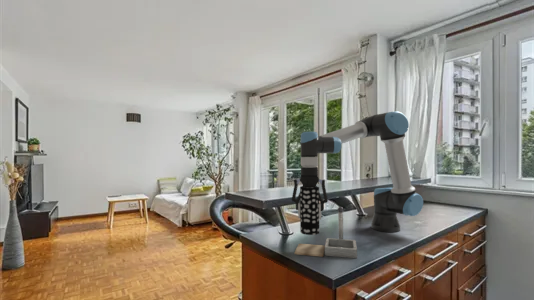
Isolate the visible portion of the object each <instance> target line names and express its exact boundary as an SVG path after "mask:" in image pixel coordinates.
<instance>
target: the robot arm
mask: <svg viewBox="0 0 534 300" xmlns="http://www.w3.org/2000/svg"><path fill="white" fill-rule="evenodd" d="M409 125H410V124H409V120H408V118H407V116H406V115H405V114H404V113H403V112H400V111H389V112H382V113H378V114H373V115H370V116H368V117H366V118H363V119H361V120H359V121H358V120H357V121H355V123H354V124H352V125H349V126H345V127H343V128H339V129H336V130H334V131H330V132H327V133H324V134H322V135H319V136H318V132H317V131H303V132H302V133H301V134H300V166H301V167H300V178H298V179H297V178H295V179H294V180H293V183H294V184H293V185H294V186H293V191H292V195H291V201H292V202H294V203H295V210H296V211H297V212H298V213H297V215H298V216H297V217H298V218H297V219H300V192H299V193H298V187H299V185H300V183H301V184H302V187H313V188H316V187H318V183H319V184H320V185H321V189H322V194H323V197H322V195H321V193H320V191H319V192H318V199H319V220H321V219H322V212H324V210H325V206H324V204H327V203H328V202H329V199H328V194H327V189H326V185H325V184H326V180H325V179H322V178H321V179H320V177H319V168H318V166H319V154H338V153H339V152H340V151H341V150H342V145H343V144H345V143H347V142H351V141H354V140H357V139H365V138H370V137H379V138H380V141H381V142H382V143H383V144H384V147H385V153H386V157H387V162H388V167H389V173H390V178H391V182H392V187H378V188H377V187H376V188H375V189H374V191H373V209H374V211H373V212H374V213H373V216H372V221H371V222H370V224H371V225H370V227H371V229H372V230H374V231H377V232H385V233H396V232H397V233H398V232H400V231H401V225H400V221H399V219H398V215H397V214H399V215H403V216H406V217H408V216H410V217H415V216H417V215H419V214H420V213H421V211H422V209H423V207H424V198H423V197H422V195H420V194H419V193H417V190H416V187H415V186H414V185H412V181H411V177H410V170H409V166H408V161H407V156H406V150H405V145H404V139H405V137H406V133H407V132H408V129H409ZM297 193H298V195H297Z"/></svg>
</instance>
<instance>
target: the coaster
mask: <svg viewBox="0 0 534 300" xmlns="http://www.w3.org/2000/svg"><path fill="white" fill-rule="evenodd" d="M294 255H298V256H299V255H301V256H309V257H310V256H311V257H321V258H323V257H324V256H325V245H324V244H323V245H322V244H310V243H298V245H297V247H296V248H295V251H294Z"/></svg>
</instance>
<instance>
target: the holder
mask: <svg viewBox="0 0 534 300" xmlns="http://www.w3.org/2000/svg"><path fill="white" fill-rule="evenodd" d="M344 211H345V210H344V208H343V206H338V208H337V212H338V238H329V237H327V238H326V240H325V250H324V256H325V257H337V258H350V259H358V248H357V247H358V246H357V241H356V239H346V238H345V239H344Z"/></svg>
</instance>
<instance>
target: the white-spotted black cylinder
mask: <svg viewBox="0 0 534 300" xmlns="http://www.w3.org/2000/svg"><path fill="white" fill-rule="evenodd" d="M302 186H303V185H302ZM302 186H300V187H299V193H300V201H299V202H300V218H299V221H300V227H299V228H300V231H299V232H300V233H301V234H303V235H305V236H316V235H319V234H320V219H319V203H320V201H319V199H318V192H320V187H319V186H317V187H316V188H313V187H302Z"/></svg>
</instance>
